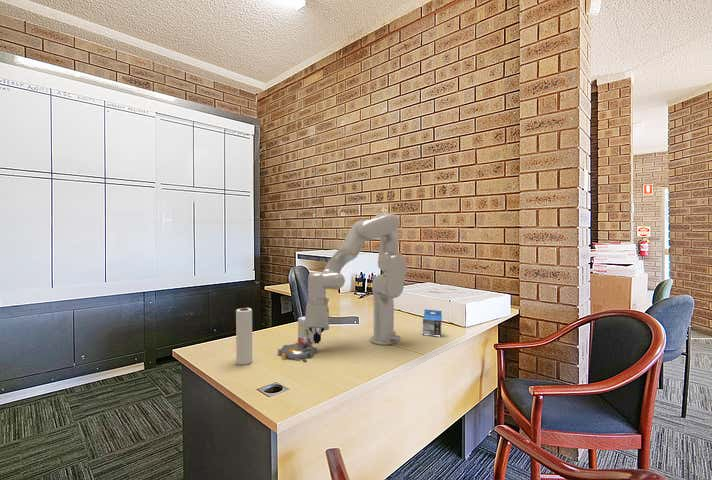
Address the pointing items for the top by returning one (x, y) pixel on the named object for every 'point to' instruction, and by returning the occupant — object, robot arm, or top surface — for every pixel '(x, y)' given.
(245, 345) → the paper towel roll
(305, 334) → the ink box
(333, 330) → the top surface
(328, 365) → the top surface
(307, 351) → the sprocket
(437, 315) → the label tape cartridge
